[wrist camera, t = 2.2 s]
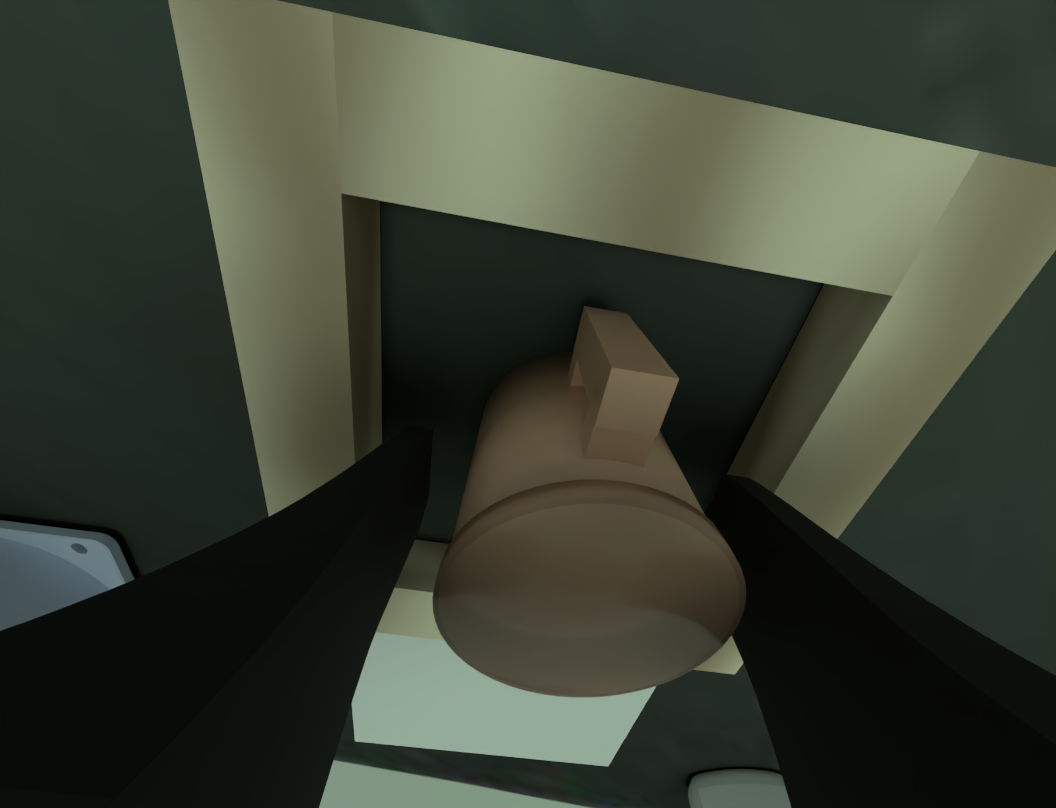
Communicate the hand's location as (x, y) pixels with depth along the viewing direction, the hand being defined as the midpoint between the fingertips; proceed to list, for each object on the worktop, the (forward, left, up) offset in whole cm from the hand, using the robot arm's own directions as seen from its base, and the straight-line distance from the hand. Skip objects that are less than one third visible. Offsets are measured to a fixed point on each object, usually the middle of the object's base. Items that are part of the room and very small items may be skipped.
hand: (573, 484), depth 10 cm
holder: (0, 0, -3) cm, 3 cm away
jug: (0, 0, -3) cm, 3 cm away
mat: (0, -15, -3) cm, 15 cm away
